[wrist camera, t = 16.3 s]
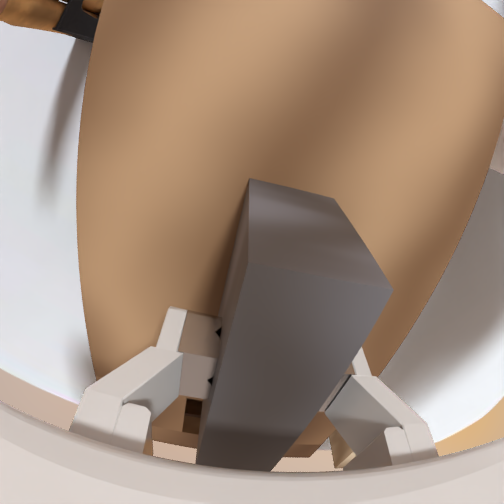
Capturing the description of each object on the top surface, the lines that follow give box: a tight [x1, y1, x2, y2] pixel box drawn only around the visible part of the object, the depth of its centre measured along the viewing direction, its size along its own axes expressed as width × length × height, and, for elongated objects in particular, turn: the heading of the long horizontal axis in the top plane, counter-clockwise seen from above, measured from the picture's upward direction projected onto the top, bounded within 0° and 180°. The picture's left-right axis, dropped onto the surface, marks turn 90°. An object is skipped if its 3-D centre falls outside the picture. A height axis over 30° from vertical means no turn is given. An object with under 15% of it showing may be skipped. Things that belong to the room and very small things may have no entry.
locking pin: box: [329, 429, 356, 468], centre depth 22 cm, size 3×3×10 cm
